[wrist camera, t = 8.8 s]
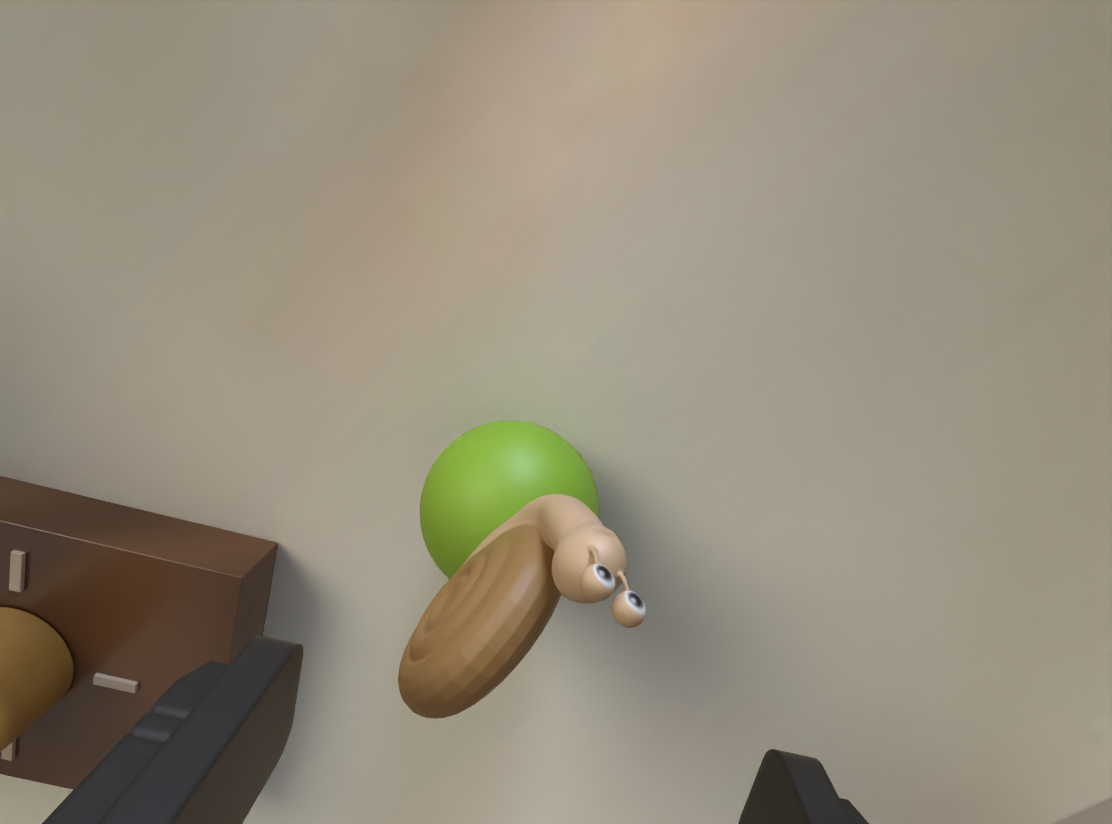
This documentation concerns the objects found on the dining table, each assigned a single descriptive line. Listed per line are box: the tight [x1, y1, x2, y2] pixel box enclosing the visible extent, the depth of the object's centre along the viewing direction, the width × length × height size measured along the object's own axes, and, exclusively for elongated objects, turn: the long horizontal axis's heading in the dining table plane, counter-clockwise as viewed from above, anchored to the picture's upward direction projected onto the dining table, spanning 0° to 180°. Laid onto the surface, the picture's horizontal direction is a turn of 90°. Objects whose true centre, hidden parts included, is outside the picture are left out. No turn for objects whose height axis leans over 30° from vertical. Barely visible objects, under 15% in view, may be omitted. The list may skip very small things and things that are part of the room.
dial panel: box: [0, 476, 277, 789], centre depth 21 cm, size 14×10×3 cm
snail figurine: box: [398, 421, 646, 718], centre depth 15 cm, size 5×6×12 cm
